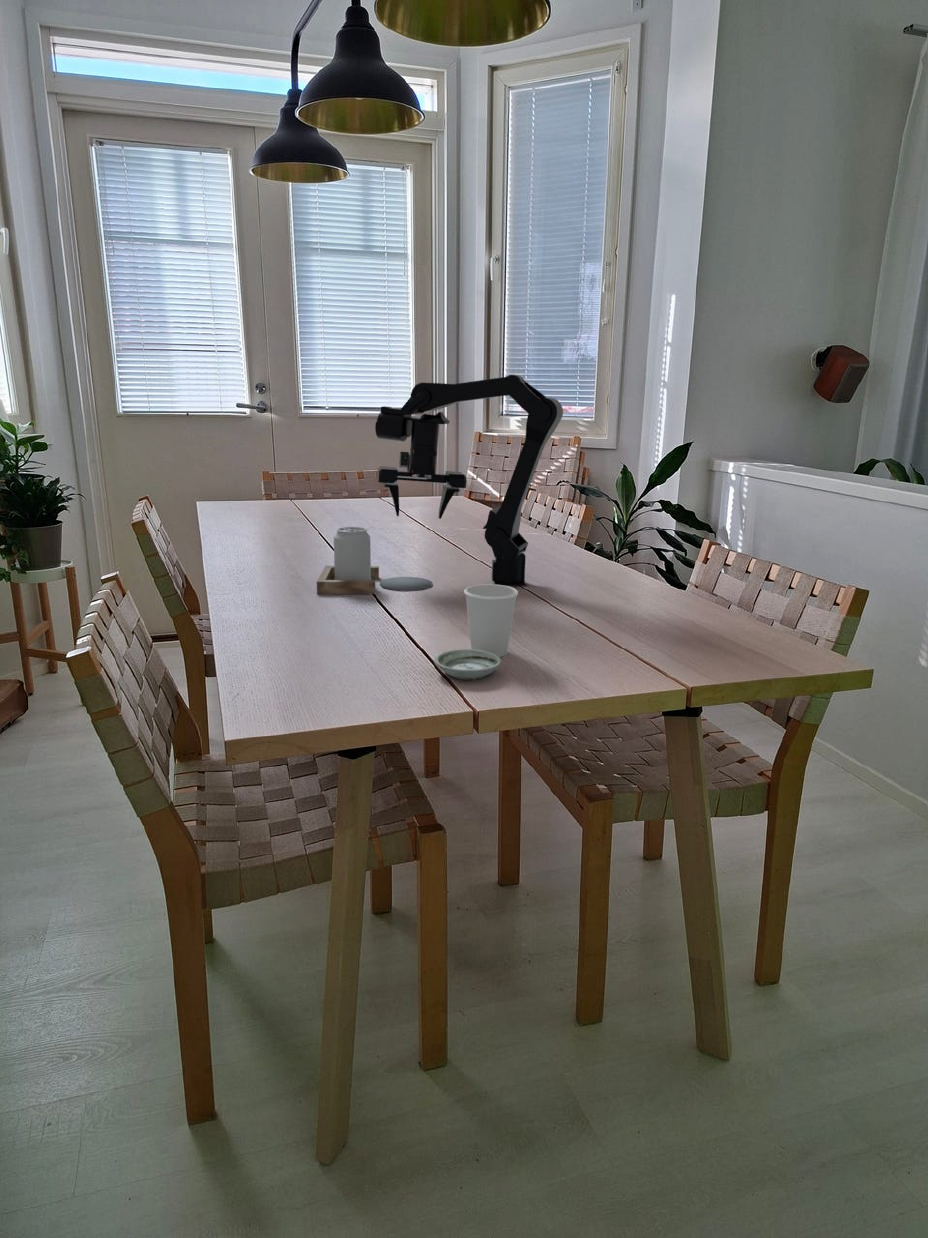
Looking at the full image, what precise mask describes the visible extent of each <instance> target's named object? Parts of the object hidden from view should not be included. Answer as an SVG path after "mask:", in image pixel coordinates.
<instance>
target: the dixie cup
mask: <svg viewBox="0 0 928 1238" xmlns="http://www.w3.org/2000/svg"><path fill="white" fill-rule="evenodd" d="M463 594H465V599H466V610H467V619H468V620H467V623H468V630H469V639H470V649H475V650H482V651H487V652H490V653H493V654H495V655H497V656H498V657H499V658H500V657H504V656H506V655H508V651H509V646H510V645H509V644H510V641H511V640H510V639H511V633H512V626H513V621H514V615H515V614H514V613H515V608H516V600H517V596H518V595H519V591H518V590H517V589H516V588H514V587H513V586H504V585H495V583H494V584H491V583H488V584H487V583H486V584H483V583H482V584H476V585H470V586H467V587H466V588H465V589H464V590H463Z"/></svg>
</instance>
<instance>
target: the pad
mask: <svg viewBox="0 0 928 1238" xmlns="http://www.w3.org/2000/svg"><path fill="white" fill-rule="evenodd" d="M379 586H380V587H381V588H383V589H386V590H391V591H398V590H406V591H405V592H408V591H409V592H411V591H410V590H415V591H421V590H426V589H430V588H432V586H433V582H432V580H430V579H427V578H424V577H423V578H422V577H419V576H418V577H416V576H415V577H414V576H396V577H389V578H388V577H387V578H385V579H382V580H380V581H379Z"/></svg>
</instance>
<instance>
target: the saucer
mask: <svg viewBox="0 0 928 1238" xmlns="http://www.w3.org/2000/svg"><path fill="white" fill-rule="evenodd" d="M433 662H434V665H435V666H437V667H438V668H439V669H440V670H441V671H442V672H444V673H445V674H447V675H448V676H451V677H453V678H456V679H458V678H461V679H460V680H465V679H472V680H475V679H474V678H478V679H482V678H483V677H485V676H487V675H489V674H491V673H493V672H494V671H495V670H496V669H497V668H499V667H500V666H501V664H502V659H501V658H500V657H498V656H497V655H495V654H493V653H490V652H487V651H482V650H475V649H471V648H460V649H452V650H451V649H450V650H445V651H443V652H441V653H439V654H437V655H436V656H435V657H434V661H433Z"/></svg>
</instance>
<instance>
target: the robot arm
mask: <svg viewBox="0 0 928 1238" xmlns="http://www.w3.org/2000/svg"><path fill="white" fill-rule="evenodd" d="M506 396H509V397H510V398H512V400H514V401H515V403H517V404H518V406H519V407H521V409H523V410H524V412H526V413H527V417H526V418H527V419H526V423H525V437H524V442H523V444H522V448H521V450H520V453H519V456H518V459H517V461H516V464H515V467H514V470H513V472H512V475H511V479H510V481H509V483H508V487H507V489H506V491H505V495H504V498H503V500H502V502H501V505H500V506H499V507H498V506H497V507H495V508H493V509H491V510H489V512H488V516H487V521H486V523H485V525H484V526H483V528H482V529H483V530H484V539H485V542H486V543H487V545H489V547H490V548H491V550H492V553H493V557H494V559H492V560H491V581H492V582H493V583H494V584H495V585H504V586H509V587H513V586H514V587H520V586H521V587H525V586H527V583H526V581H525V579H526V560H527V559H526V555H525V552H526V551H527V548H528V546H529V542H528V541H527V540H526V539H525V538H524V536H523V535H521V533H520V528H521V527H520V526H521V521H522V519H521V518H522V508H523V505H524V502H525V500H526V496H527V494H528V491H529V488H530V487H531V483H532V481H533V479H534V478H533V477H534V475H535V472H536V470H537V468H538V467H537V466H538V465H539V461H540V459H541V456H542V453H543V452H544V448H545V445H546V444H547V443H548V441H549V439H550V438H551V437H552V436H553V433H554V432H555V431H556V429H557V428H558V425H559V424H560V423H561V420H562V419H563V416H564V409H563V406H562V404H561V402H559V400H558V399H556V398H555V397H554V398H553V397H547V396H546V395H545V394H544V393H542V392H541V391H539V390H538V389H537V388H535V387H534V386H533V385H531V384H529V382H528V381H526V380H525V379H524V377H522V376H521V375H519V374H518V375H517V374H509V375H507V376H502V377H494V378H487V379H481V380H472V381H466V382H459V383H446V382H445V383H444V382H442V383H441V382H439V383H438V382H418V383H416V384H415V385H414V387H413V388H412V389H411V392H410V397H409V398H408V399H407V401H406V402H405V404H404V405H402V407H401V408H396V407H395V408H393V407H391V406H385V405H384V406H381V407H380V412H379V414H378V416H377V418H376V421H375V425H374V426H375V427H374V430H375V435H376V437H377V439H381V440H389V441H395V442H405V441H406V440H407V439H408V438H410V447H409V451H410V452H409V451H400V452H399V463H398V464H399V468H404V469H406V471H399V469H398V468H397V467H395V466H382V465H381V466H379V467H377V471H376V480H377V482H378V483H381V484H383V486H384V487H385V488H388V490H389V492H390V494H391V497H392V501H393V506H394V509H395V515H396V517H399V516H400V495H399V493H400V491H399V484H398V481H409V482H423V483H424V482H425V483H438V484H442V489H441V490H442V492H441V499H440V502H439V508H438V519H442V517H443V516H444V514H445V511H446V509H447V507H448V504H449V503H450V501H451V499H452V498H453V496H454V495H455V493H460V490H461V489H466V488H467V482H468V481H467V476H466V475H465V473H463V472H462V471H453V470H452V471H451V470H446V471H445V473H444V474H441V473H436V470H437V458H438V448H439V447H438V446H439V445H438V444H439V434H440V425H449V424H450V420H449V419H448V418H447V416H445V414H444V412H443V411H440V410H442V409H445V408H447V407H450V406H453V405H454V404H457V403H461V402H467V401H477V400H483V399H491V398H492V399H493V398H499V397H506ZM438 410H439V411H440V412H437V413H436V414H430V413H429V414H428V413H426V412H435V411H438ZM414 415H421V416H420V418H419V417H412V416H414ZM414 475H415V476H414Z"/></svg>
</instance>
